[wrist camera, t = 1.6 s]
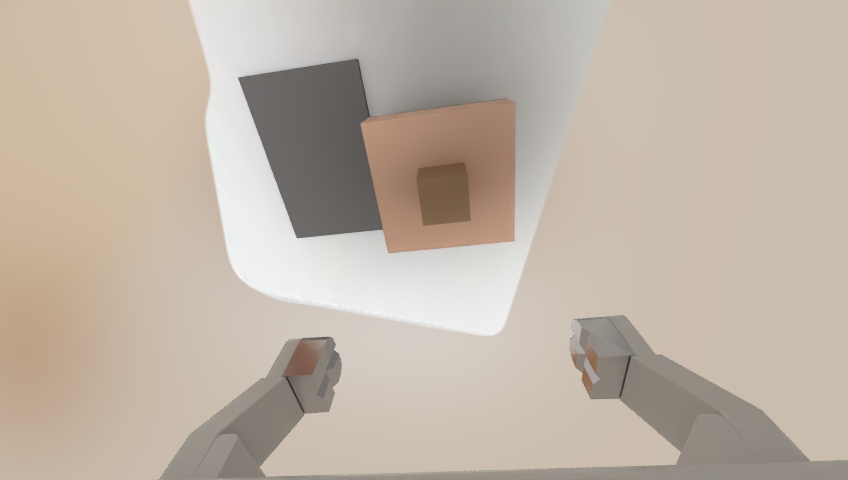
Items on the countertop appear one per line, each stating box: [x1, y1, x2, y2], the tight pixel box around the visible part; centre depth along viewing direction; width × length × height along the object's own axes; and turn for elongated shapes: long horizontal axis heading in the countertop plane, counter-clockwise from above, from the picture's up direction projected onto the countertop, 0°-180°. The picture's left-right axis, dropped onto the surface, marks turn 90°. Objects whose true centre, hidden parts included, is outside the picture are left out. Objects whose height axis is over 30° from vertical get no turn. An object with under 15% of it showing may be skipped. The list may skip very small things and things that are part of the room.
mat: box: [238, 59, 383, 238], centre depth 35 cm, size 18×12×1 cm, turn 8°
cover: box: [360, 99, 515, 253], centre depth 25 cm, size 11×11×6 cm
